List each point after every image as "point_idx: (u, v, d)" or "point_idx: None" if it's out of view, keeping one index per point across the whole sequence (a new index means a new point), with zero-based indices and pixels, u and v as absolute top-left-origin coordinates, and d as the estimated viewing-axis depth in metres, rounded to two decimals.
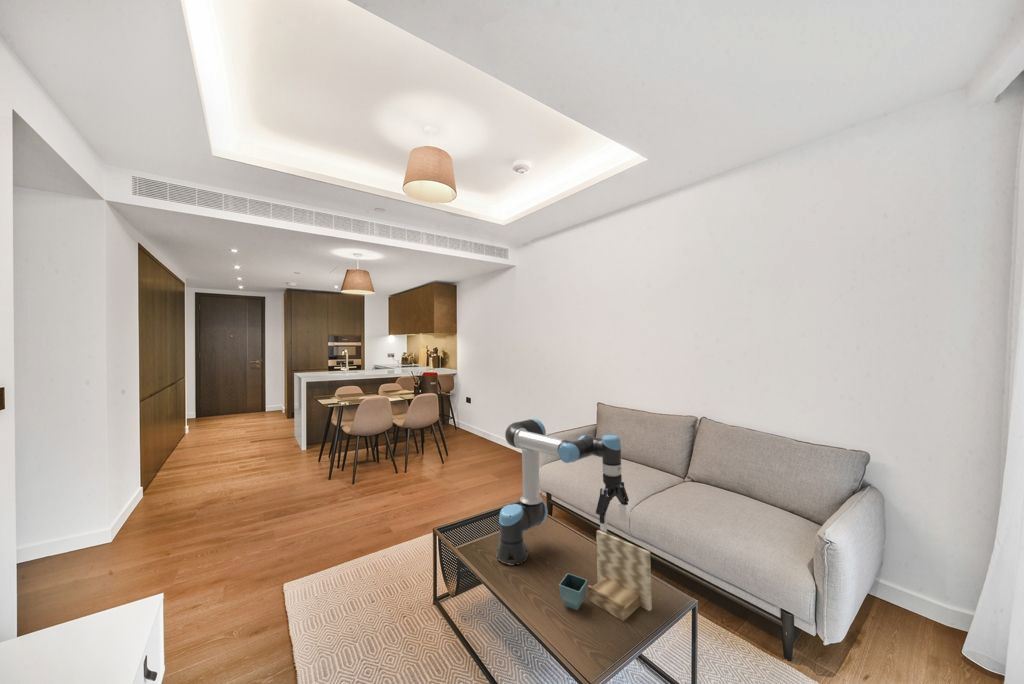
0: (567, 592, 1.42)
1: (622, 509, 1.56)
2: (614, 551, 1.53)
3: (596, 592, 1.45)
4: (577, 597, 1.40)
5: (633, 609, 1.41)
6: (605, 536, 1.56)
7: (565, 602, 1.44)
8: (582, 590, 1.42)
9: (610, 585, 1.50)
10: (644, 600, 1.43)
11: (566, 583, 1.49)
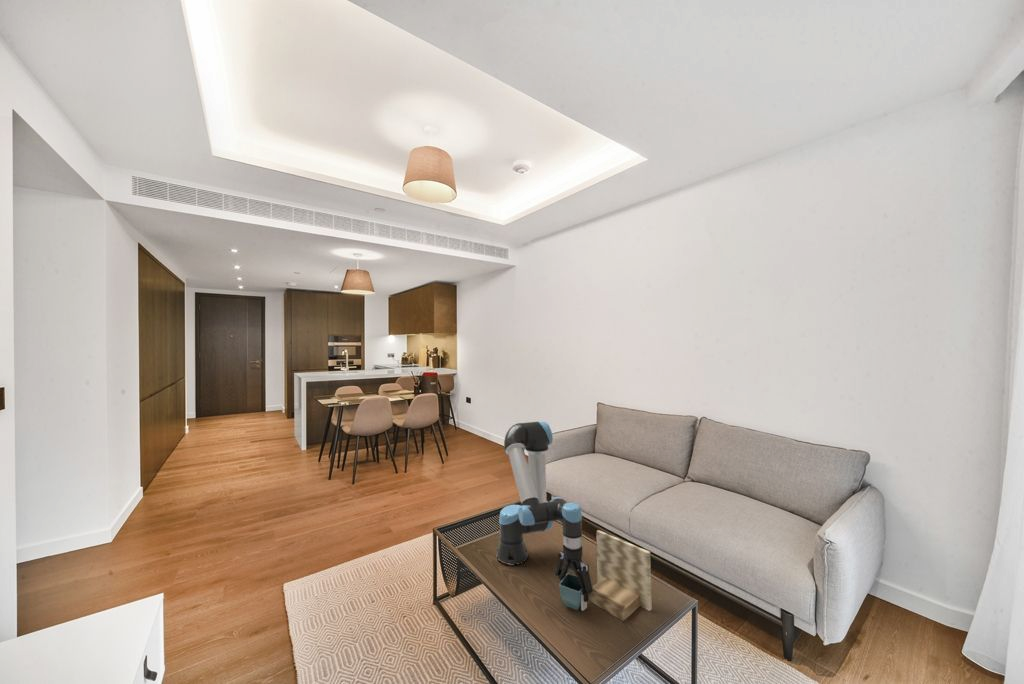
0: (567, 592, 1.42)
1: None
2: (614, 551, 1.53)
3: (596, 592, 1.45)
4: (577, 597, 1.40)
5: (633, 609, 1.41)
6: (605, 536, 1.56)
7: (565, 602, 1.44)
8: None
9: (610, 585, 1.50)
10: (644, 600, 1.43)
11: (566, 583, 1.49)
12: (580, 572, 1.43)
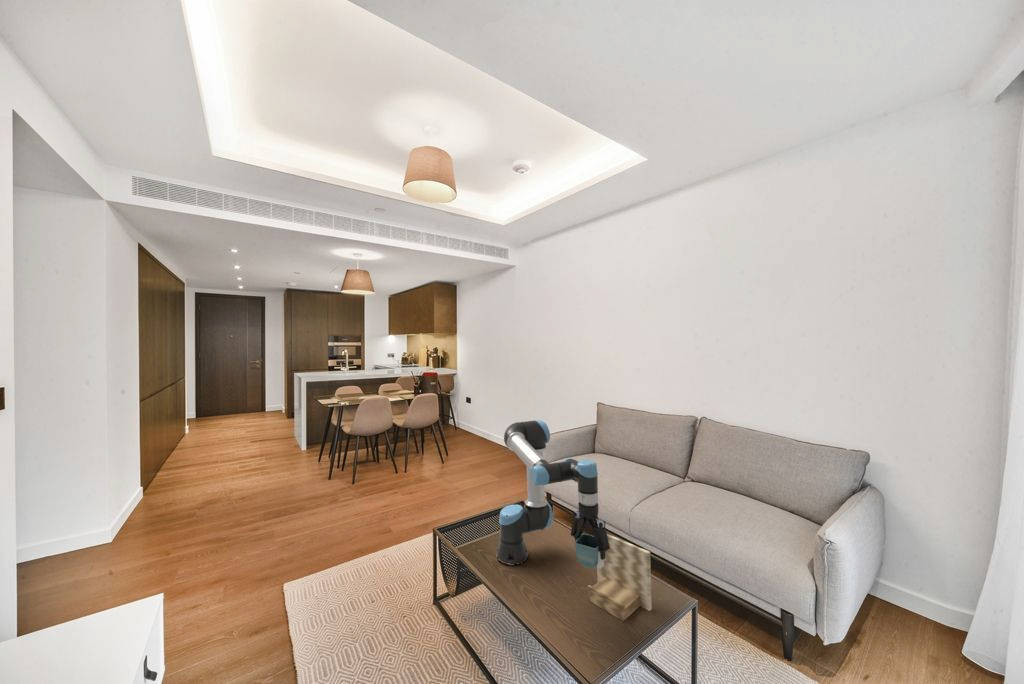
0: (583, 550, 1.38)
1: None
2: (614, 551, 1.53)
3: (596, 592, 1.45)
4: (593, 554, 1.36)
5: (633, 609, 1.41)
6: None
7: (581, 561, 1.39)
8: None
9: (610, 585, 1.50)
10: (644, 600, 1.43)
11: (582, 543, 1.45)
12: (596, 529, 1.39)
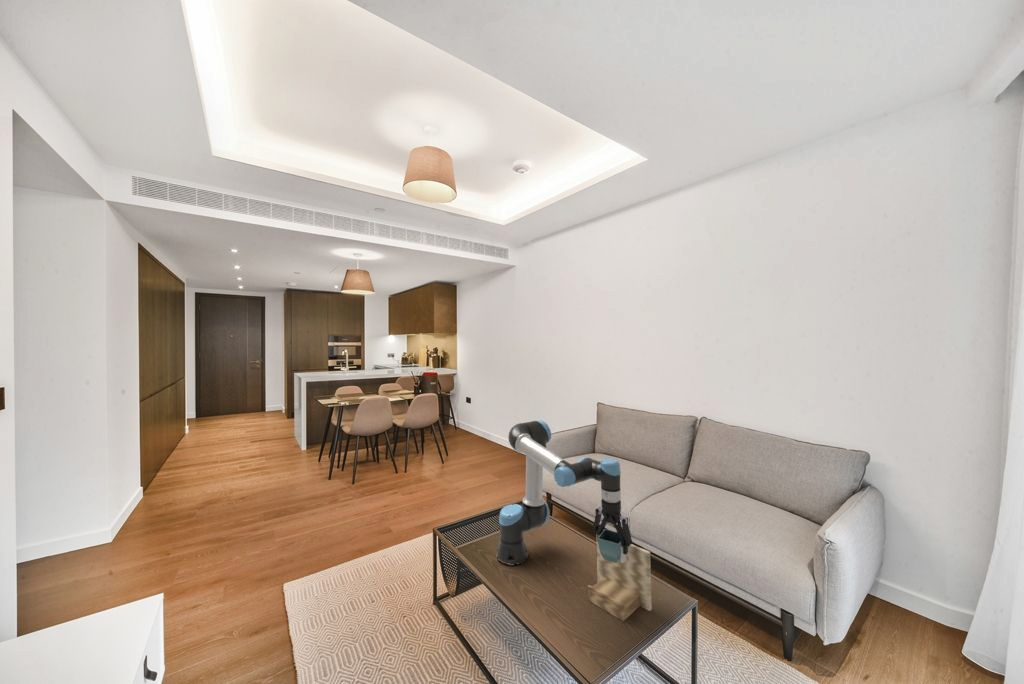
0: (606, 545, 1.43)
1: None
2: None
3: (596, 592, 1.45)
4: (617, 549, 1.41)
5: (633, 609, 1.41)
6: None
7: (604, 555, 1.45)
8: (621, 543, 1.43)
9: (610, 585, 1.50)
10: (644, 600, 1.43)
11: (604, 538, 1.50)
12: (619, 525, 1.44)
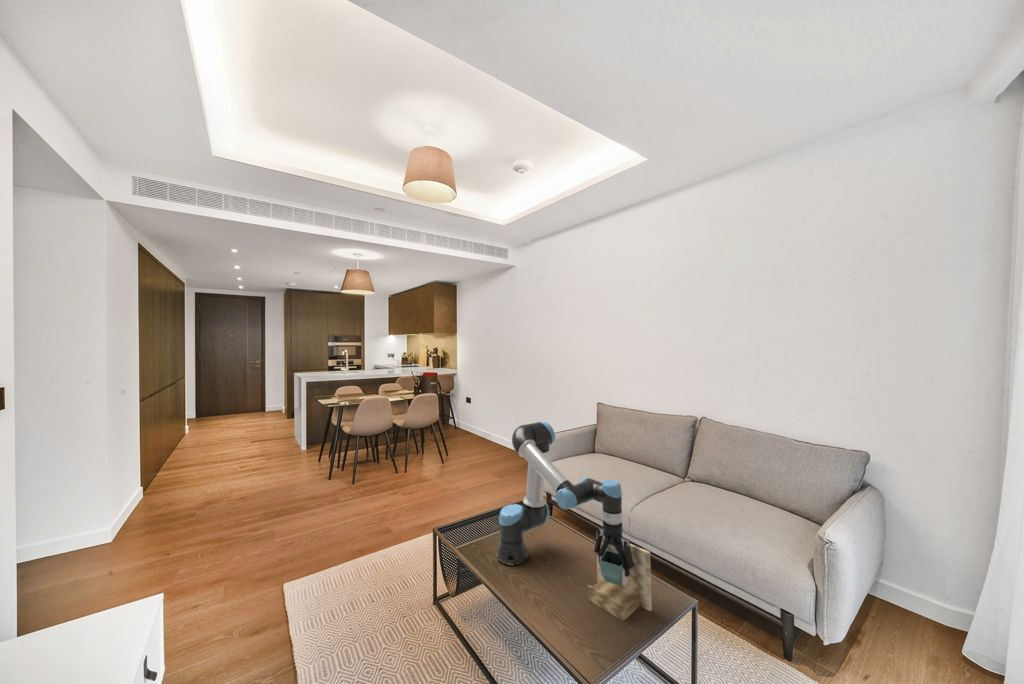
0: (608, 567, 1.44)
1: None
2: (614, 551, 1.53)
3: (596, 592, 1.45)
4: (618, 572, 1.41)
5: (633, 609, 1.41)
6: None
7: (606, 577, 1.45)
8: None
9: (610, 585, 1.50)
10: (644, 600, 1.43)
11: (605, 559, 1.50)
12: (621, 547, 1.44)
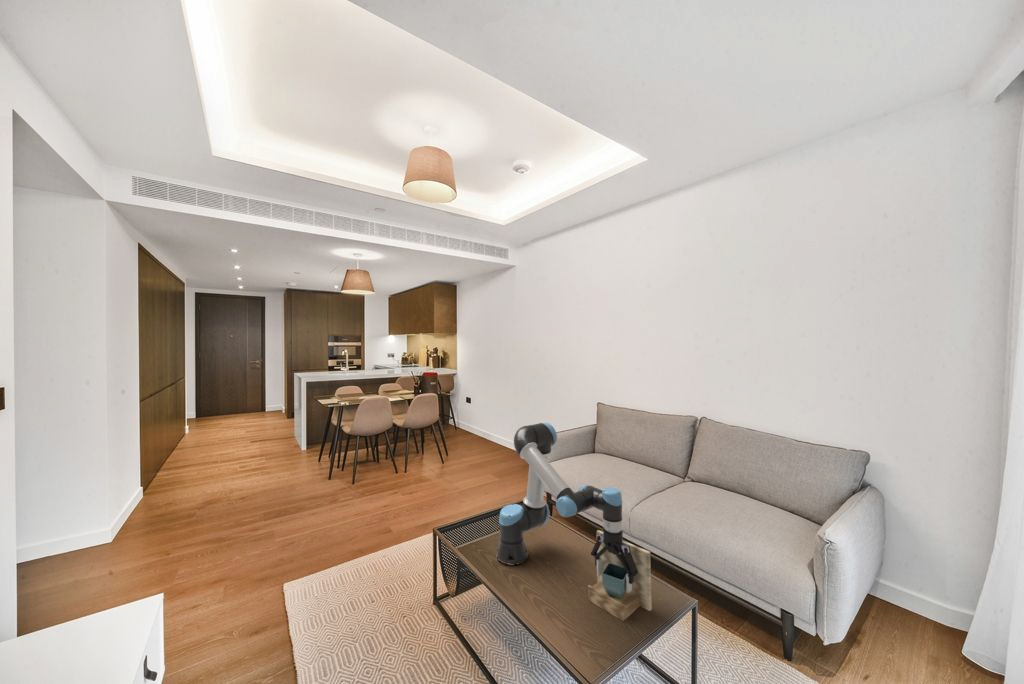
0: (610, 580, 1.42)
1: None
2: None
3: (596, 592, 1.45)
4: (620, 586, 1.40)
5: (633, 609, 1.41)
6: None
7: (608, 591, 1.44)
8: (625, 579, 1.42)
9: None
10: (644, 600, 1.43)
11: (608, 572, 1.49)
12: (622, 555, 1.44)
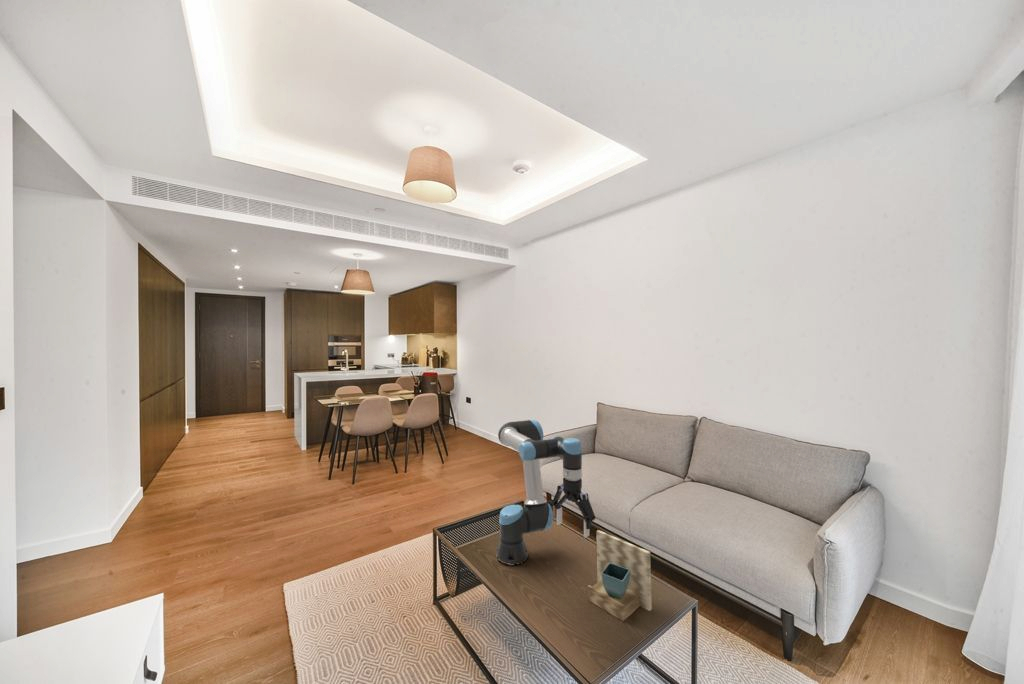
0: (610, 580, 1.42)
1: None
2: (614, 551, 1.53)
3: (596, 592, 1.45)
4: (620, 586, 1.40)
5: (633, 609, 1.41)
6: (605, 536, 1.56)
7: (608, 591, 1.44)
8: (625, 579, 1.42)
9: None
10: (644, 600, 1.43)
11: (608, 572, 1.49)
12: (581, 502, 1.46)
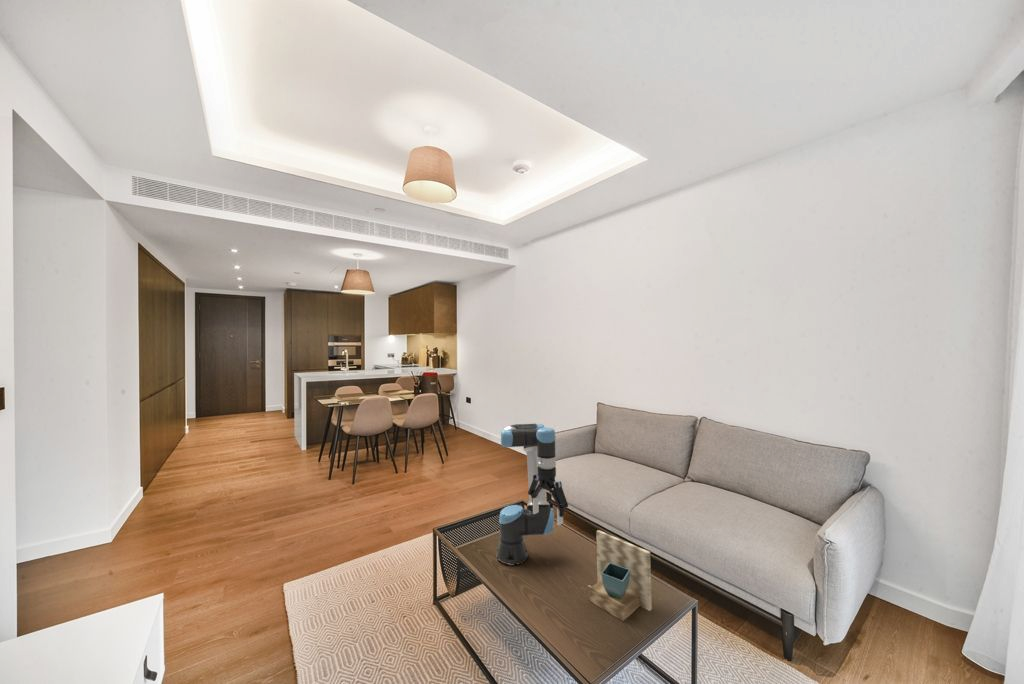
0: (610, 580, 1.42)
1: None
2: (614, 551, 1.53)
3: (596, 592, 1.45)
4: (620, 586, 1.40)
5: (633, 609, 1.41)
6: (605, 536, 1.56)
7: (608, 591, 1.44)
8: (625, 579, 1.42)
9: None
10: (644, 600, 1.43)
11: (608, 572, 1.49)
12: (554, 490, 1.48)
